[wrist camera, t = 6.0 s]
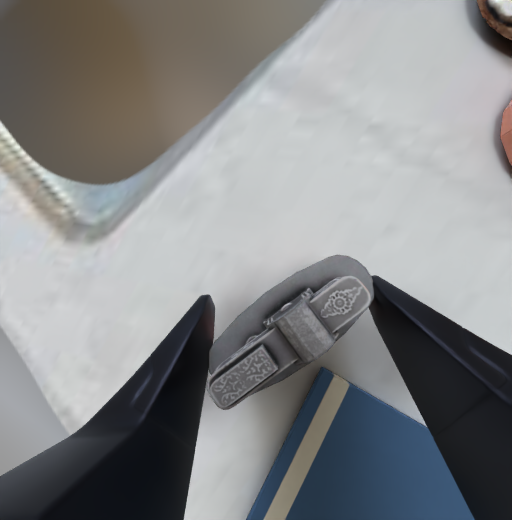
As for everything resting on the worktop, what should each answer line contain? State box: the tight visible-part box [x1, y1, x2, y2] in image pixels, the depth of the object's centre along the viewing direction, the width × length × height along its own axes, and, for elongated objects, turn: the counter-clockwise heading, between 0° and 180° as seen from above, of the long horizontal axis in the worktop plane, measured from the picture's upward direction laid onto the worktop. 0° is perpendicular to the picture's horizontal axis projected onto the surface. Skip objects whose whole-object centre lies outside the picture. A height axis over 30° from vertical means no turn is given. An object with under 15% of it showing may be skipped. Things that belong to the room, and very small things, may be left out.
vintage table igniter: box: [207, 255, 374, 410], centre depth 11 cm, size 8×3×10 cm, turn 126°
